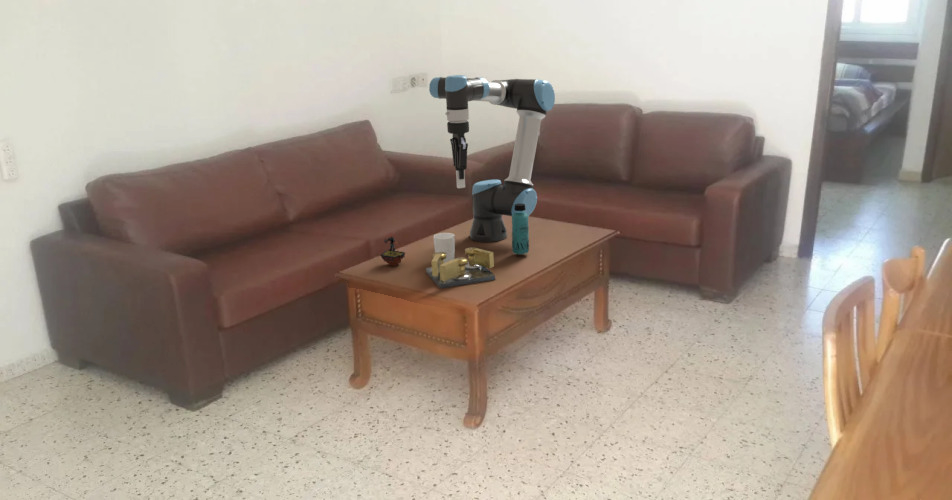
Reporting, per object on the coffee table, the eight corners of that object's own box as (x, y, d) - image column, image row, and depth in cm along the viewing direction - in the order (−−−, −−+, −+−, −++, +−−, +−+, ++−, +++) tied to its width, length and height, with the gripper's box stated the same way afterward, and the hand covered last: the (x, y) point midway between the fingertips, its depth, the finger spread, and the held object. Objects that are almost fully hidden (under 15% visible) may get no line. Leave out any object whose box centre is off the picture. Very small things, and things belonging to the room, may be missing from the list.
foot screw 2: (460, 271, 277) (460, 254, 275) (471, 273, 274) (470, 257, 272) (437, 280, 268) (436, 264, 266) (447, 283, 265) (446, 266, 263)
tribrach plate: (478, 264, 290) (478, 255, 289) (495, 279, 274) (495, 270, 273) (426, 272, 284) (425, 263, 283) (440, 288, 268) (439, 279, 267)
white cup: (446, 256, 301) (444, 231, 298) (460, 260, 295) (459, 235, 292) (430, 261, 296) (429, 236, 292) (444, 266, 290) (443, 240, 287)
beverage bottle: (508, 256, 298) (507, 204, 292) (519, 251, 303) (518, 201, 296) (521, 259, 294) (520, 207, 288) (533, 254, 298) (532, 203, 292)
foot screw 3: (462, 264, 284) (462, 248, 282) (472, 260, 287) (471, 245, 285) (487, 270, 276) (486, 254, 274) (496, 267, 279) (495, 251, 277)
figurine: (410, 263, 294) (408, 232, 290) (397, 270, 288) (395, 238, 284) (389, 260, 299) (387, 229, 295) (376, 266, 293) (373, 235, 289)
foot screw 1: (434, 266, 283) (433, 250, 281) (448, 266, 282) (447, 250, 280) (428, 277, 272) (427, 261, 270) (442, 277, 271) (441, 261, 269)
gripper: (442, 119, 278) (445, 184, 285) (453, 124, 266) (456, 192, 274) (462, 117, 280) (465, 182, 288) (474, 122, 268) (476, 190, 276)
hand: (461, 187), depth 281 cm, fingers closed
